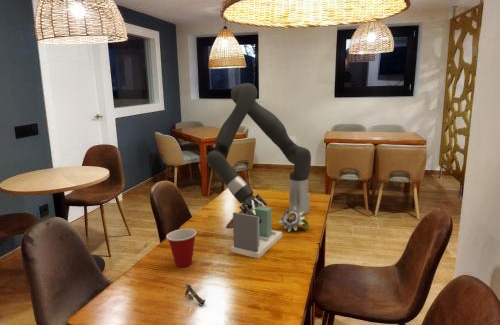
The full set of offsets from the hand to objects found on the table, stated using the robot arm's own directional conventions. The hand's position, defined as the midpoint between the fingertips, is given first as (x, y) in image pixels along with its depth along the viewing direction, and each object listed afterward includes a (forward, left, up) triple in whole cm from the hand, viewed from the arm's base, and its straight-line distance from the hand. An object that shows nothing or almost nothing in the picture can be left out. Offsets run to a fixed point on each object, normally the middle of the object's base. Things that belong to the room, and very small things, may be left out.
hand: (264, 219), depth 148 cm
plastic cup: (+35, +9, -9) cm, 37 cm away
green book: (+1, -1, -7) cm, 7 cm away
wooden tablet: (+2, -27, -10) cm, 29 cm away
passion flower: (-17, -8, -10) cm, 21 cm away
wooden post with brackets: (+34, +33, -10) cm, 49 cm away
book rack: (+4, +2, -9) cm, 10 cm away
